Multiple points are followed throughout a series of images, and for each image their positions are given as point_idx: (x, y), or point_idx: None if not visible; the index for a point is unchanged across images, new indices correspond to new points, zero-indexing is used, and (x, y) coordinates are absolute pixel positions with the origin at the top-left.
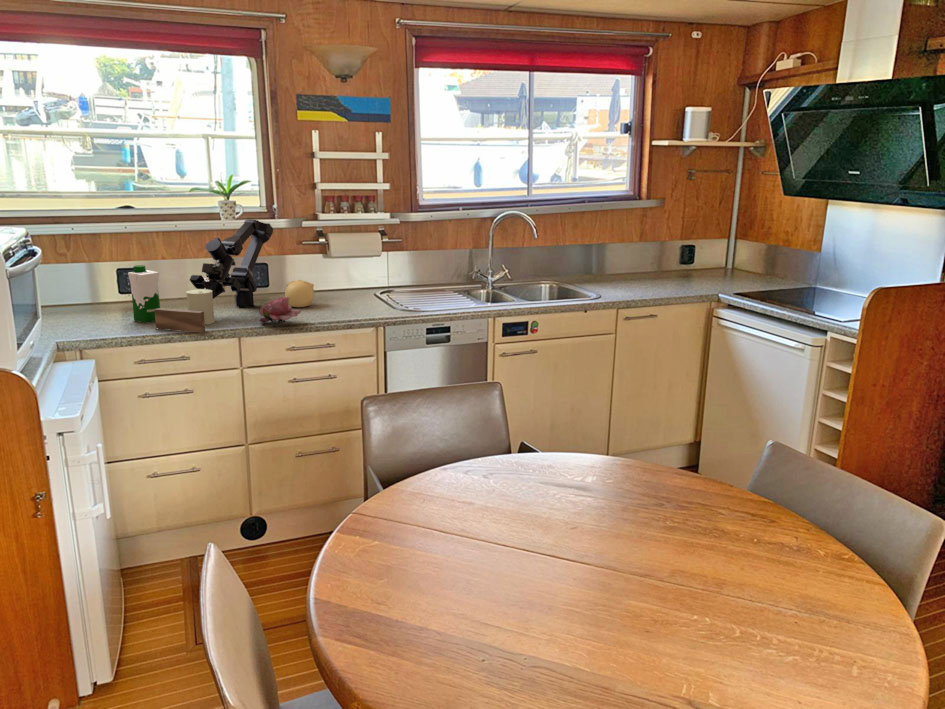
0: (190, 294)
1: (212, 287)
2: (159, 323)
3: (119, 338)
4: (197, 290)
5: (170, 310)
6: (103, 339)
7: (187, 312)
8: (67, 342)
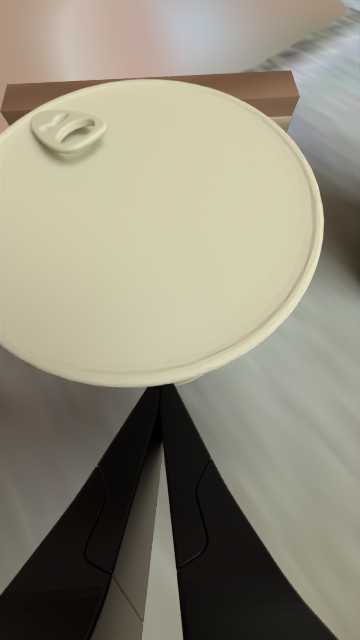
0: (162, 94)
1: (81, 601)
2: None
3: (259, 70)
4: (226, 257)
5: (194, 79)
6: (289, 54)
7: (84, 84)
8: (341, 19)
